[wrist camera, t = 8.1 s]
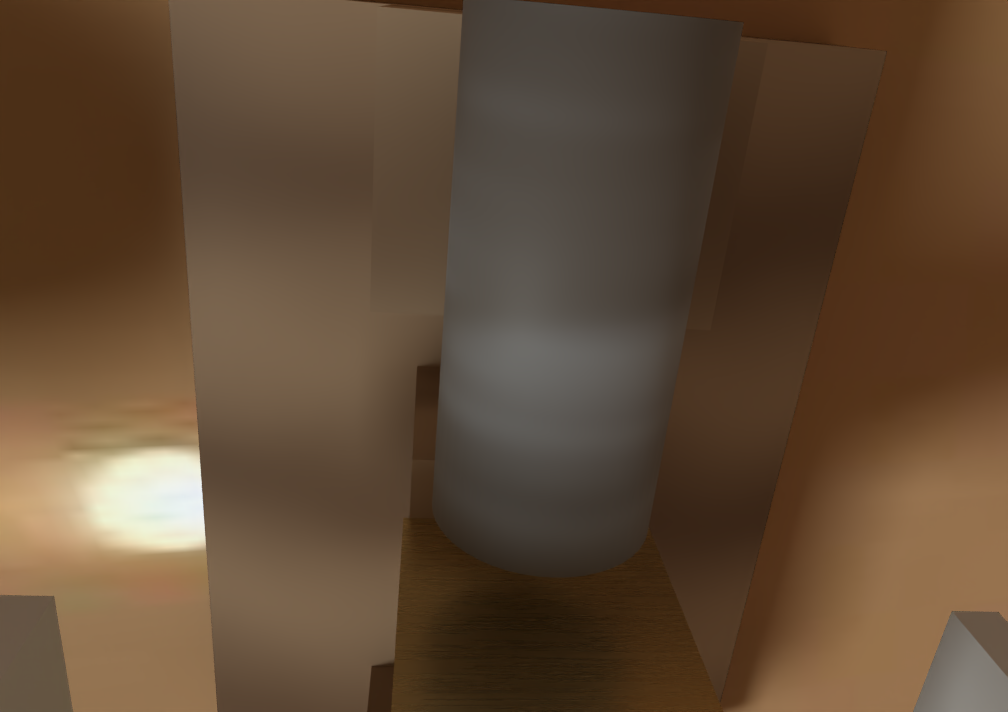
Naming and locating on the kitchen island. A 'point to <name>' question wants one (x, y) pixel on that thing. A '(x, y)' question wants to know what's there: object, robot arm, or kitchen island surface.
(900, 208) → the kitchen island surface
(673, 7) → the kitchen island surface
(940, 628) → the kitchen island surface
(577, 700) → the wooden block
